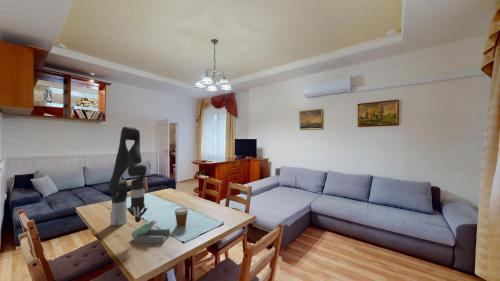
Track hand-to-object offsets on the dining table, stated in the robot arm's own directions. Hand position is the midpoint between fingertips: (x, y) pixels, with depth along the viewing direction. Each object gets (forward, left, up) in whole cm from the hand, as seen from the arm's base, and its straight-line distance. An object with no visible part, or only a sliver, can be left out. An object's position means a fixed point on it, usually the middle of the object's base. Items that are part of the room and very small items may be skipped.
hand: (138, 221), depth 128 cm
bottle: (-2, 0, -9) cm, 9 cm away
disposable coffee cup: (+21, +19, -11) cm, 31 cm away
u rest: (+9, 0, -11) cm, 15 cm away
